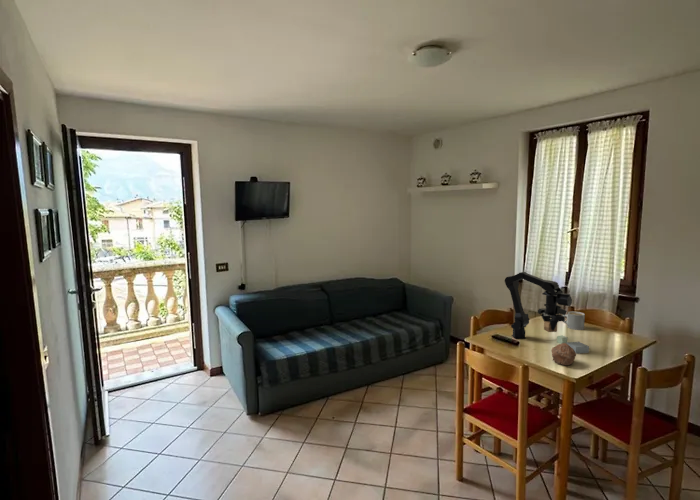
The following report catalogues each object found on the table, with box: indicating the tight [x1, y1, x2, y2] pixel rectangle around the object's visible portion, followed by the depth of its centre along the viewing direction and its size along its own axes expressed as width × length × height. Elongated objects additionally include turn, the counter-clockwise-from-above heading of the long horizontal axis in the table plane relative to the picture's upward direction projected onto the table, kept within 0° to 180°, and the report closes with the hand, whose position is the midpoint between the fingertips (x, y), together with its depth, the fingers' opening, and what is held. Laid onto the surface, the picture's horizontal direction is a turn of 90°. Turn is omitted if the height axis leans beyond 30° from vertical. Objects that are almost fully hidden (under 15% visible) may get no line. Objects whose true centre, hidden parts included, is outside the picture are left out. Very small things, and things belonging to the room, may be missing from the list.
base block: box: [566, 341, 590, 355], centre depth 217 cm, size 8×8×4 cm
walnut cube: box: [543, 320, 558, 333], centre depth 225 cm, size 5×5×5 cm
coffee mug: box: [561, 311, 586, 331], centre depth 260 cm, size 13×10×10 cm
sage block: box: [556, 334, 569, 344], centre depth 230 cm, size 4×4×4 cm
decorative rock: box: [550, 343, 577, 366], centre depth 200 cm, size 13×11×10 cm
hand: (550, 328), depth 225 cm, fingers closed on walnut cube, 5 cm apart
